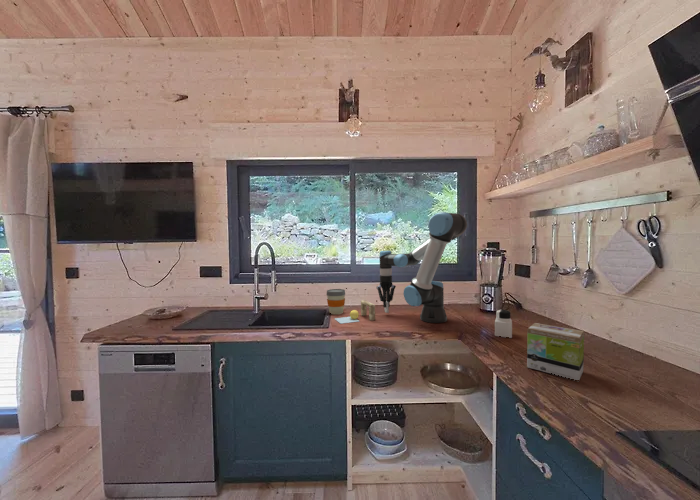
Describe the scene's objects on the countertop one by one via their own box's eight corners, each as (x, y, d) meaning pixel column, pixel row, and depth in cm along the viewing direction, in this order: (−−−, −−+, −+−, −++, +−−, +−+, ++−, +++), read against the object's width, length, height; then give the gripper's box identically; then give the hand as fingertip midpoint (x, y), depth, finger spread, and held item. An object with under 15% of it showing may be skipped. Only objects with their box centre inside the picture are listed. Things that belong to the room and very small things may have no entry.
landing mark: (359, 321, 168) (359, 321, 168) (340, 323, 164) (340, 323, 164) (352, 316, 180) (352, 316, 180) (334, 318, 175) (334, 318, 175)
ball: (354, 309, 170) (349, 317, 170) (361, 314, 172) (356, 322, 171) (351, 307, 176) (346, 314, 175) (358, 311, 177) (353, 319, 176)
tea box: (526, 368, 102) (526, 327, 102) (533, 360, 109) (533, 321, 109) (580, 382, 92) (580, 336, 91) (584, 372, 99) (584, 329, 98)
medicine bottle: (512, 334, 140) (511, 309, 140) (511, 338, 134) (511, 313, 134) (495, 332, 144) (495, 308, 143) (494, 336, 138) (494, 311, 137)
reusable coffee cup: (323, 313, 189) (322, 290, 189) (335, 309, 199) (334, 288, 199) (337, 316, 182) (337, 292, 181) (349, 312, 192) (349, 289, 191)
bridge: (365, 314, 184) (365, 300, 184) (375, 320, 170) (374, 304, 170) (361, 315, 183) (360, 300, 183) (370, 320, 169) (370, 305, 169)
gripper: (392, 273, 187) (392, 309, 187) (374, 275, 182) (374, 311, 182) (397, 275, 180) (398, 312, 180) (379, 276, 175) (380, 314, 175)
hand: (386, 312), depth 181 cm, fingers closed
